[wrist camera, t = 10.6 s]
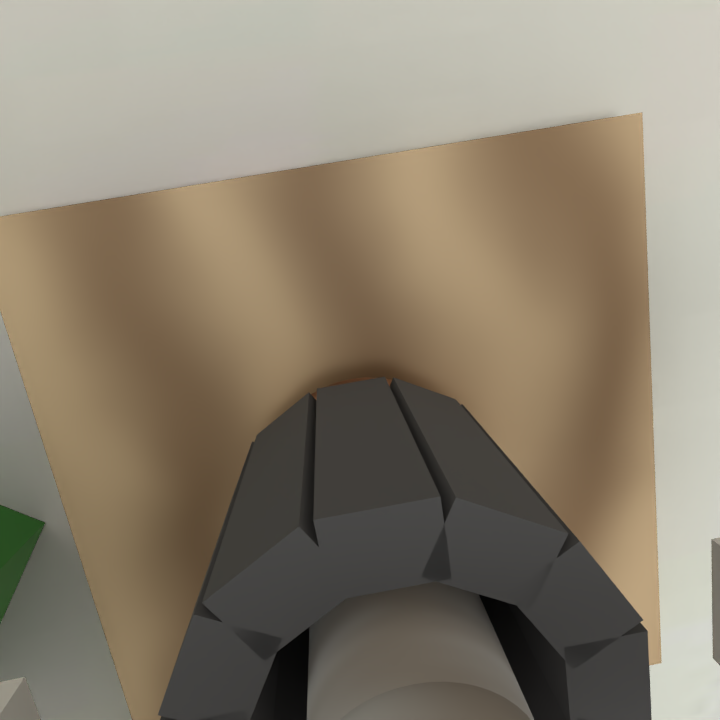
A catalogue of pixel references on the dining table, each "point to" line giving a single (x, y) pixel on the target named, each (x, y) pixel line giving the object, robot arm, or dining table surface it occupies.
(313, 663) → the post stand
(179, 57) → the dining table surface
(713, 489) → the dining table surface
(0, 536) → the hardback book
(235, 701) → the rubber collar
